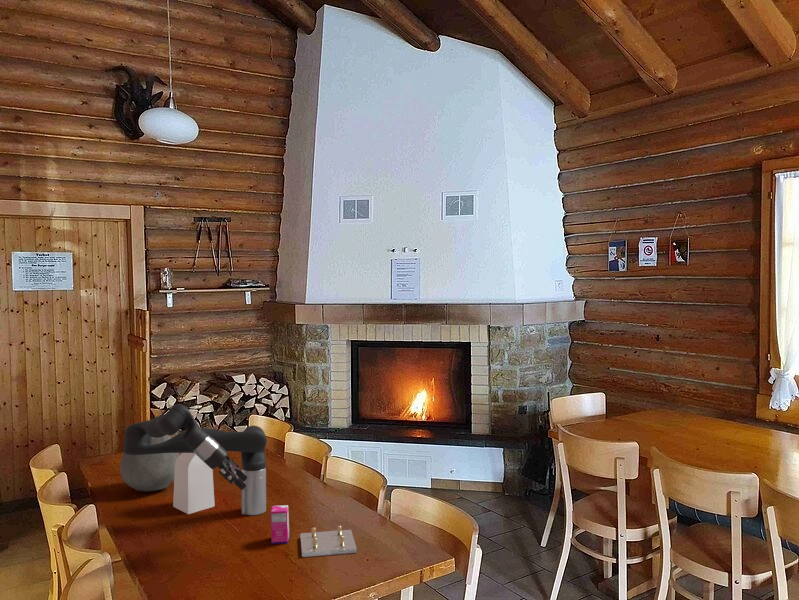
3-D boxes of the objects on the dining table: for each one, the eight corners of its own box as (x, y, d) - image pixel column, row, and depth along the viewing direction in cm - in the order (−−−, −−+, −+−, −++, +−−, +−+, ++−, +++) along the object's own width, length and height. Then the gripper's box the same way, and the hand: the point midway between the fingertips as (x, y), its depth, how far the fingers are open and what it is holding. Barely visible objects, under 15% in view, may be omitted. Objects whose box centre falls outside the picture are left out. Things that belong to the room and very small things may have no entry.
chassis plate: (302, 557, 204) (301, 543, 204) (300, 537, 220) (300, 525, 220) (356, 552, 207) (356, 539, 207) (351, 533, 223) (351, 521, 223)
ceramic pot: (136, 480, 283) (135, 425, 283) (189, 480, 283) (188, 426, 282) (109, 498, 259) (109, 439, 258) (167, 499, 258) (166, 439, 257)
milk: (173, 506, 250) (172, 442, 249) (199, 499, 258) (198, 437, 258) (188, 514, 242) (187, 447, 241) (214, 506, 250) (214, 442, 250)
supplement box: (272, 537, 220) (272, 505, 220) (289, 536, 220) (289, 504, 220) (270, 544, 214) (270, 511, 214) (288, 543, 215) (287, 510, 214)
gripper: (204, 454, 218) (238, 485, 221) (199, 466, 204) (235, 498, 207) (220, 438, 219) (253, 469, 222) (216, 449, 205) (252, 482, 208)
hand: (245, 483), depth 214 cm, fingers open, 8 cm apart
